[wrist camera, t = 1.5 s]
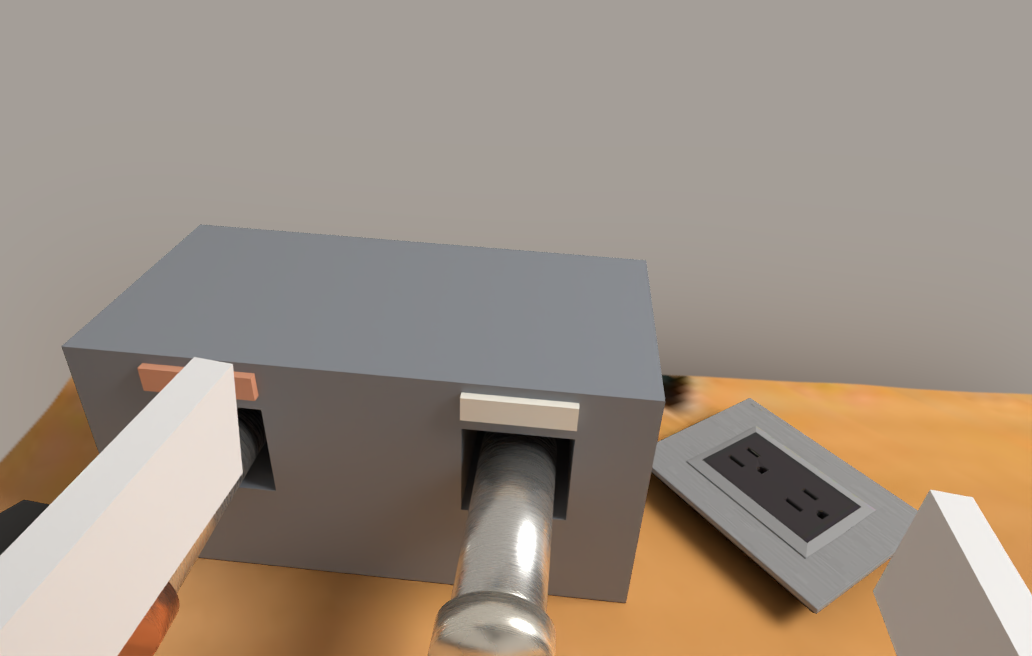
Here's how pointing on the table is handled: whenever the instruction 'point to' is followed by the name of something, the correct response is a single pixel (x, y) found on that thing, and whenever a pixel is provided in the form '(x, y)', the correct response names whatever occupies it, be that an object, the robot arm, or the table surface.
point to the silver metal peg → (504, 555)
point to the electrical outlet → (784, 501)
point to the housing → (397, 392)
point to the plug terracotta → (194, 548)
